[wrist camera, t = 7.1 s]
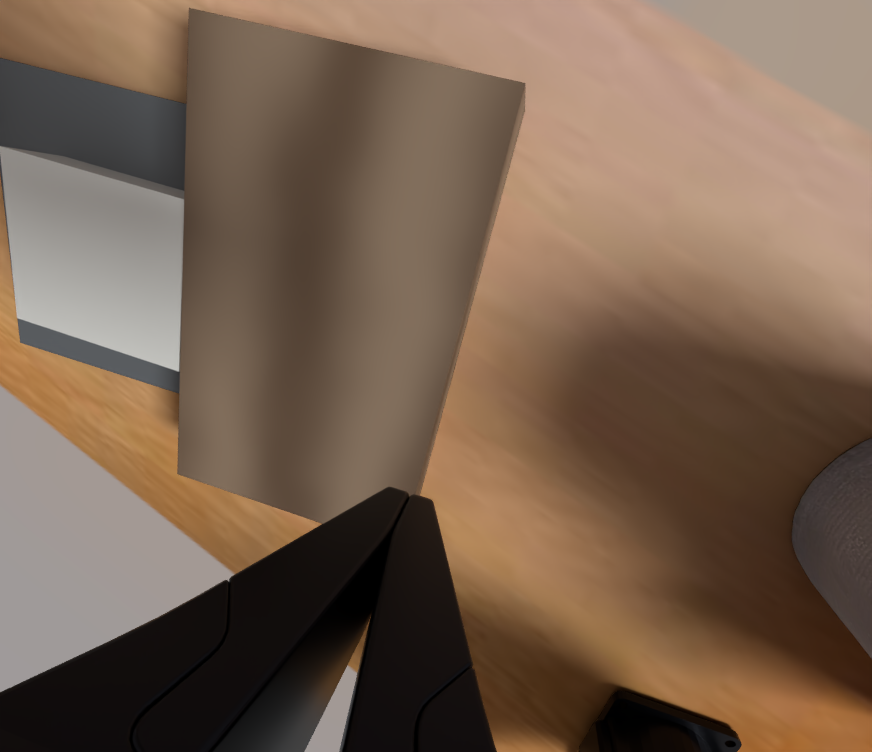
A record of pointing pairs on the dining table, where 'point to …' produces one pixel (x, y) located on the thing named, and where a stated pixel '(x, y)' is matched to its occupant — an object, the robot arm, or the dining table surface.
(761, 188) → the dining table surface
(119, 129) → the mat
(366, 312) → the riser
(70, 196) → the coaster
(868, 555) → the pillar candle
